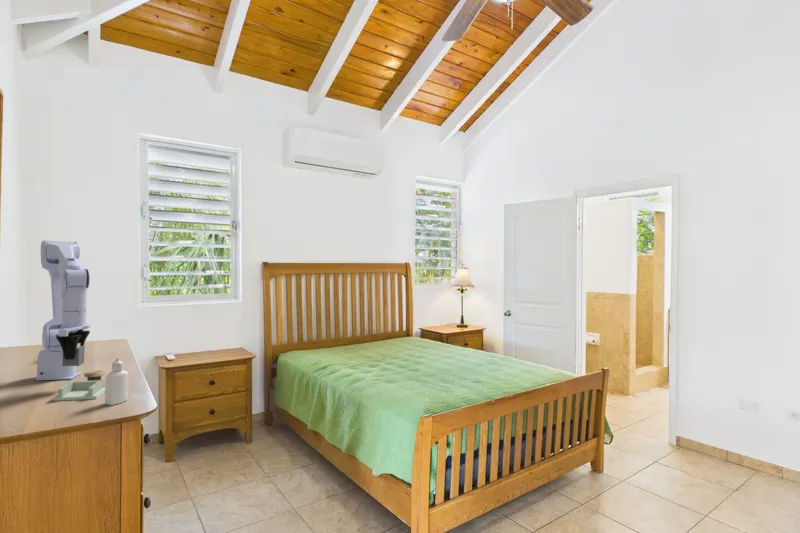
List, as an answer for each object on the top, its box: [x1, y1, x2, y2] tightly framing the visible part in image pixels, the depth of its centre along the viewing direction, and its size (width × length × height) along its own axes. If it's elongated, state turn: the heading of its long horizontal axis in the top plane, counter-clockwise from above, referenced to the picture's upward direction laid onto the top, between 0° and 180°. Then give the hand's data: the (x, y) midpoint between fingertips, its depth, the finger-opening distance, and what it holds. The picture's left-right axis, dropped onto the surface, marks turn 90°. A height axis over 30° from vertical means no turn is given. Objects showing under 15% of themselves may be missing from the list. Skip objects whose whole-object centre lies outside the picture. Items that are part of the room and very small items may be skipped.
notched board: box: [52, 379, 105, 402], centre depth 126 cm, size 10×8×3 cm
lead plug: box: [62, 343, 86, 367], centre depth 132 cm, size 4×4×6 cm
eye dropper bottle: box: [104, 356, 129, 406], centre depth 121 cm, size 4×6×12 cm
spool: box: [83, 370, 105, 387], centre depth 135 cm, size 5×5×4 cm
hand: (73, 357), depth 132 cm, fingers closed on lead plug, 4 cm apart
